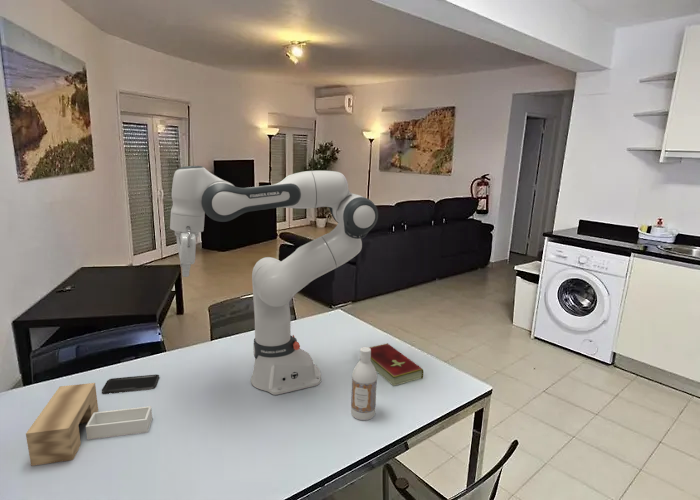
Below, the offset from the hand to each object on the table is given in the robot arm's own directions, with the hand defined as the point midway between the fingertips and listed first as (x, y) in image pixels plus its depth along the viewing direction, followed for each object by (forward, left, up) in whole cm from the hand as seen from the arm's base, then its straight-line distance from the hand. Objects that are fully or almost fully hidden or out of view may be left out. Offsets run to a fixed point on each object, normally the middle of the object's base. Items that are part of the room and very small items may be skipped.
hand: (184, 271), depth 120 cm
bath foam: (-48, +23, -38) cm, 65 cm away
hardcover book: (-65, 0, -39) cm, 75 cm away
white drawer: (+16, +15, -38) cm, 44 cm away
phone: (+18, -7, -38) cm, 43 cm away
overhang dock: (+29, +15, -38) cm, 50 cm away
